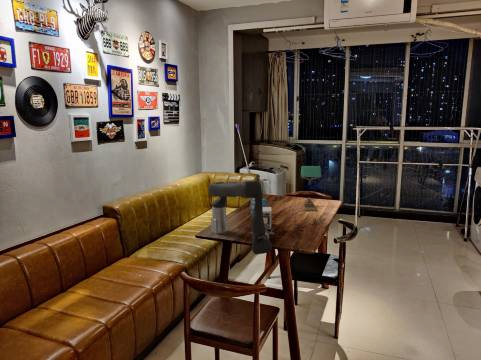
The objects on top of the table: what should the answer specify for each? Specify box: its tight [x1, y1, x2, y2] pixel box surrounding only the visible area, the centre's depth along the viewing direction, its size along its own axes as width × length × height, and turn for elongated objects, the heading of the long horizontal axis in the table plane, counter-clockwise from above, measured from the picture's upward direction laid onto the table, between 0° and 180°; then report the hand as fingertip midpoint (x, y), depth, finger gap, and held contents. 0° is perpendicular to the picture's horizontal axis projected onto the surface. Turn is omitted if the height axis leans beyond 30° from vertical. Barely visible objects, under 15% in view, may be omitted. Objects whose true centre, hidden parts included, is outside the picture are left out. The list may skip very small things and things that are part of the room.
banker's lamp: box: [300, 165, 322, 212], centre depth 290 cm, size 16×21×35 cm
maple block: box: [263, 218, 268, 229], centre depth 223 cm, size 6×12×11 cm, turn 176°
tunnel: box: [263, 206, 272, 229], centre depth 238 cm, size 10×11×14 cm
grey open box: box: [263, 214, 270, 227], centre depth 248 cm, size 10×9×6 cm
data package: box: [250, 198, 268, 215], centre depth 277 cm, size 12×4×12 cm, turn 75°
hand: (262, 227), depth 222 cm, fingers closed on maple block, 5 cm apart
